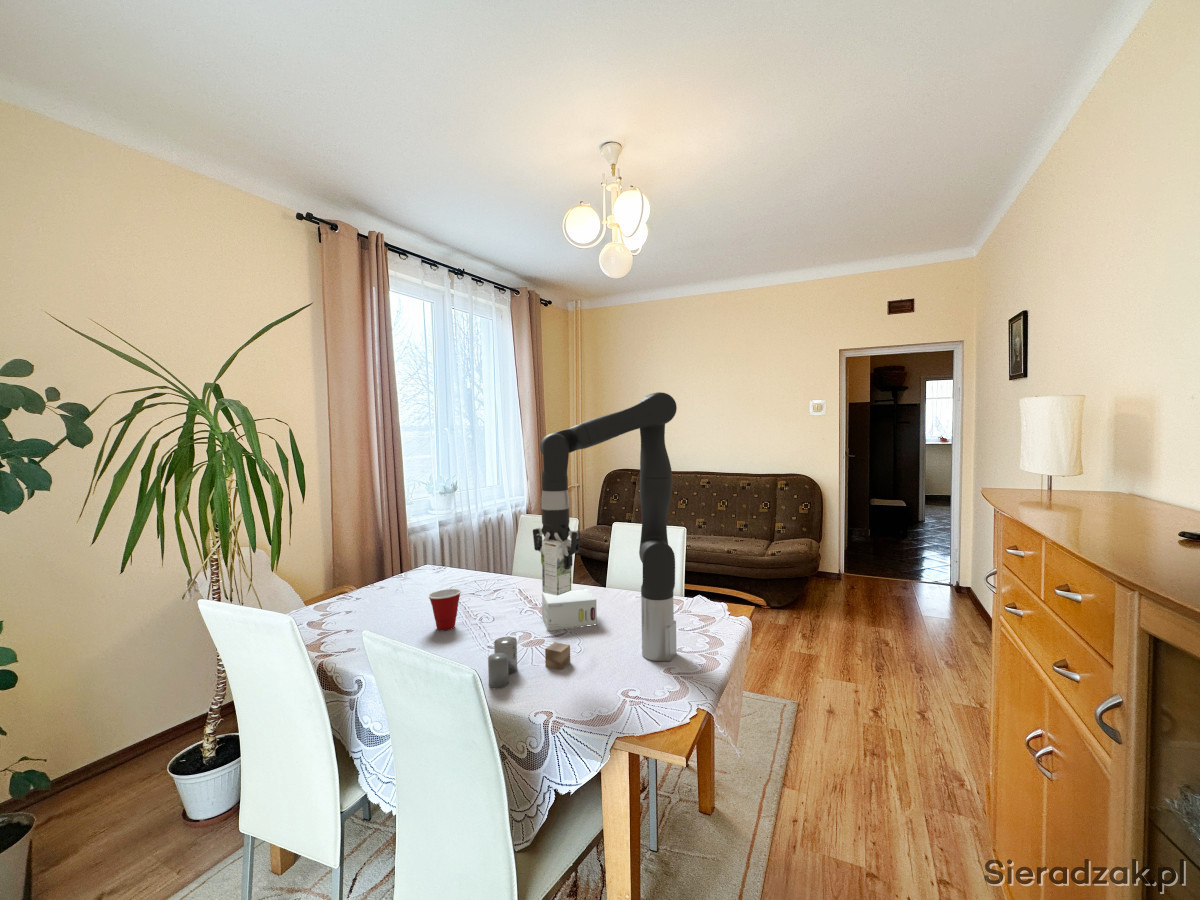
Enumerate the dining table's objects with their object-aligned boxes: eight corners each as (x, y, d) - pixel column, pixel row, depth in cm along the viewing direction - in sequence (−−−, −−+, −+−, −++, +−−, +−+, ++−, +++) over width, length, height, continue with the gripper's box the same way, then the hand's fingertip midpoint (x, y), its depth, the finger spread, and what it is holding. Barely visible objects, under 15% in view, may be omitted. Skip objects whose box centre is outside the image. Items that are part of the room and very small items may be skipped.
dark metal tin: (521, 667, 138) (521, 638, 138) (508, 677, 133) (507, 647, 133) (504, 663, 141) (503, 635, 141) (490, 672, 136) (489, 643, 136)
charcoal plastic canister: (512, 681, 131) (511, 654, 130) (500, 690, 126) (499, 662, 126) (497, 677, 133) (496, 651, 133) (484, 686, 128) (484, 659, 128)
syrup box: (556, 587, 142) (555, 536, 141) (572, 591, 138) (571, 538, 138) (542, 592, 137) (540, 539, 137) (557, 596, 134) (556, 542, 133)
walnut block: (570, 662, 141) (570, 645, 141) (561, 670, 137) (560, 651, 137) (555, 659, 143) (554, 642, 143) (545, 666, 139) (545, 648, 139)
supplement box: (547, 632, 164) (546, 603, 164) (542, 618, 177) (541, 591, 177) (597, 626, 168) (597, 598, 168) (588, 613, 181) (588, 587, 181)
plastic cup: (448, 619, 177) (447, 585, 176) (468, 625, 170) (468, 590, 170) (421, 629, 168) (420, 593, 167) (442, 636, 161) (441, 599, 161)
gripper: (585, 506, 137) (586, 567, 138) (540, 503, 144) (542, 562, 144) (571, 510, 131) (572, 573, 131) (525, 507, 137) (527, 568, 138)
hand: (556, 567), depth 138 cm, fingers closed on syrup box, 6 cm apart
